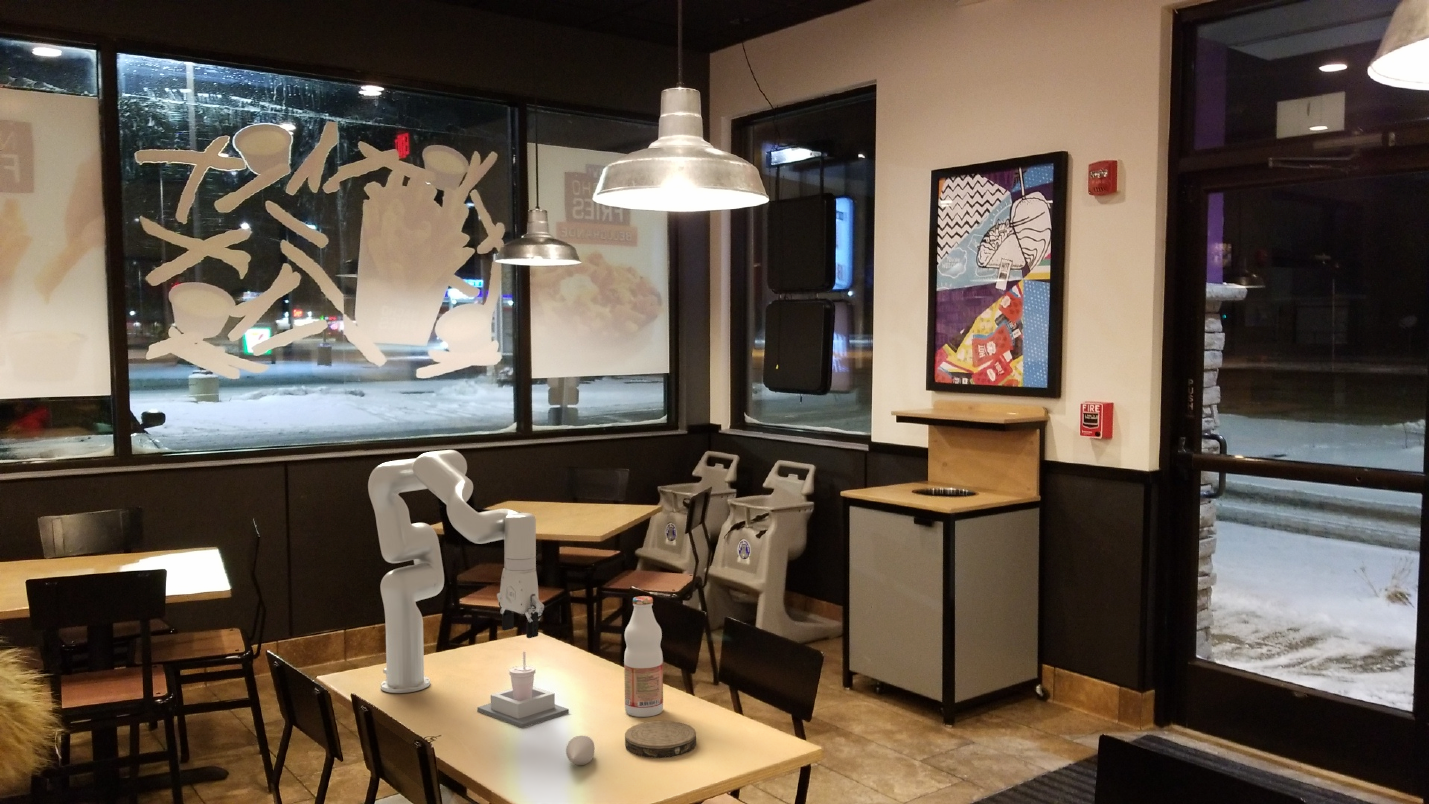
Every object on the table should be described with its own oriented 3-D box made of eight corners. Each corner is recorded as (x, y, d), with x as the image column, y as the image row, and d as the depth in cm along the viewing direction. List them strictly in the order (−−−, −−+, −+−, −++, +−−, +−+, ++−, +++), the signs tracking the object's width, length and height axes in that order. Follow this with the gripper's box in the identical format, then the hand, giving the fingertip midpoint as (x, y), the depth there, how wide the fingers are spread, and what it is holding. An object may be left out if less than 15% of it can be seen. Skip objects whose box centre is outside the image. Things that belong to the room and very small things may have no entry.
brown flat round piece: (611, 743, 242) (611, 730, 242) (670, 728, 251) (670, 716, 251) (649, 765, 229) (649, 751, 229) (710, 748, 238) (710, 735, 238)
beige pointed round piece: (570, 780, 220) (583, 764, 235) (593, 761, 220) (604, 746, 235) (552, 756, 221) (566, 742, 235) (575, 737, 221) (587, 724, 236)
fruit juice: (616, 713, 261) (615, 599, 260) (641, 702, 269) (640, 592, 268) (646, 720, 256) (645, 604, 254) (671, 709, 263) (669, 596, 262)
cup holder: (477, 711, 263) (477, 693, 263) (523, 697, 274) (523, 680, 274) (522, 728, 251) (522, 709, 251) (568, 713, 262) (568, 694, 261)
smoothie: (530, 713, 259) (529, 656, 258) (505, 711, 260) (504, 654, 259) (540, 704, 265) (539, 648, 264) (515, 703, 266) (514, 647, 265)
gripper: (486, 560, 264) (486, 629, 265) (529, 571, 252) (529, 643, 253) (511, 556, 269) (511, 623, 270) (554, 567, 258) (554, 637, 259)
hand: (520, 633), depth 262 cm, fingers open, 9 cm apart
